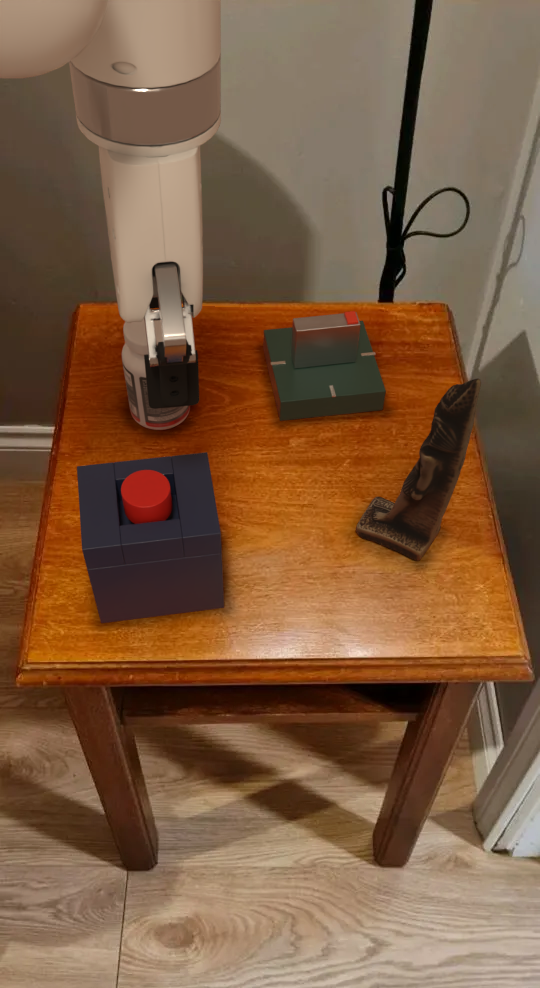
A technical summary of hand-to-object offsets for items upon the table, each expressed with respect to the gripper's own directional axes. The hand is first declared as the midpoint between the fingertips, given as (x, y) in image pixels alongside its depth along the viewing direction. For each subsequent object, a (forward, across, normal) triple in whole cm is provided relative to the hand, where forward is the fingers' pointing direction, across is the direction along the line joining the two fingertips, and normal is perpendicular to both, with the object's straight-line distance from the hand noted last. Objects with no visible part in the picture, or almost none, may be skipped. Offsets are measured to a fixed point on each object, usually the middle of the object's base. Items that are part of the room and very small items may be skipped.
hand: (165, 352), depth 60 cm
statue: (+20, +2, +19) cm, 28 cm away
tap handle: (+18, -18, +16) cm, 30 cm away
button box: (+21, +3, -2) cm, 21 cm away
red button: (+12, +3, -2) cm, 13 cm away
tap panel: (+20, -18, +16) cm, 31 cm away
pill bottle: (+21, -16, 0) cm, 26 cm away
